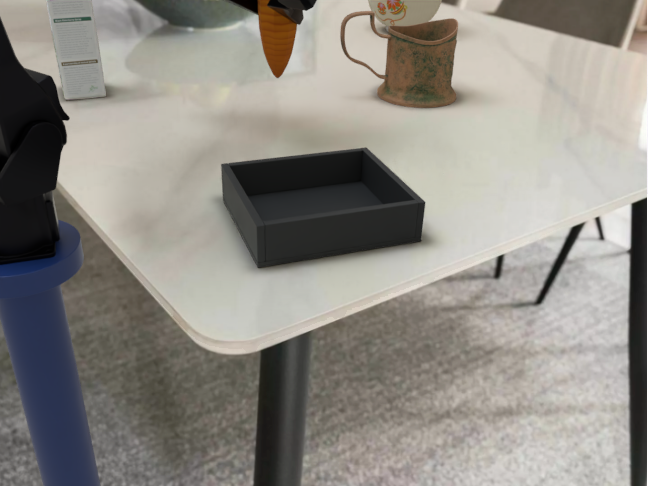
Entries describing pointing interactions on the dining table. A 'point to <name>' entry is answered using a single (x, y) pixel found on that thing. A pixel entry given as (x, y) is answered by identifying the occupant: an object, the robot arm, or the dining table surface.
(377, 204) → the tray
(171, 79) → the dining table surface
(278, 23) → the carrot
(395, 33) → the mug
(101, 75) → the syrup box
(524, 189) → the dining table surface
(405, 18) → the bowl
